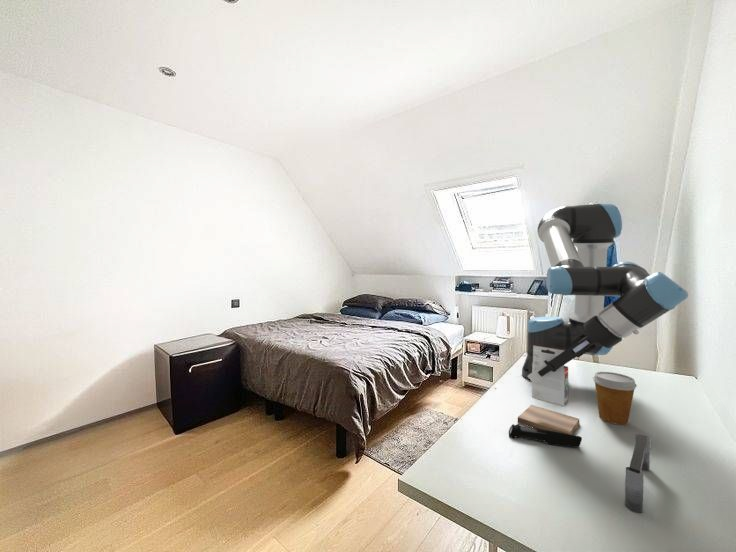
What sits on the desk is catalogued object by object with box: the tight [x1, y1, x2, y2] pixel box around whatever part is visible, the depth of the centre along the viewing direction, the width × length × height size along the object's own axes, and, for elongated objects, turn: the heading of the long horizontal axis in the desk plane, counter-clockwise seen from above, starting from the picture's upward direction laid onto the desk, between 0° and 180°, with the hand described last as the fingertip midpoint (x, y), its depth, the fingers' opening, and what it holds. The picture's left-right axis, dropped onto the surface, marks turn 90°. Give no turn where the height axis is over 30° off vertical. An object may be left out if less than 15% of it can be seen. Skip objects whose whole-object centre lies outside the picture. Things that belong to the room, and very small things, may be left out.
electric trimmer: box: [508, 423, 583, 448], centre depth 75 cm, size 4×16×3 cm, turn 68°
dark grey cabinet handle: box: [624, 433, 651, 514], centre depth 60 cm, size 18×2×7 cm, turn 135°
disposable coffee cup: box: [592, 371, 638, 426], centre depth 86 cm, size 10×10×12 cm
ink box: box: [531, 345, 569, 407], centre depth 83 cm, size 4×8×15 cm, turn 43°
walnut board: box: [517, 404, 580, 435], centre depth 84 cm, size 11×12×2 cm
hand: (534, 378), depth 86 cm, fingers closed on ink box, 4 cm apart
